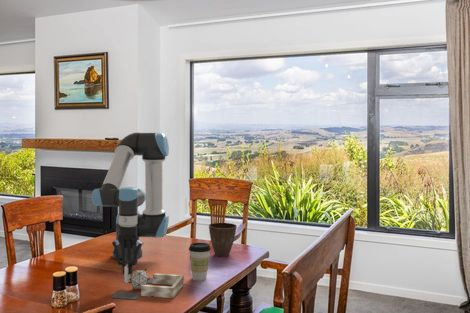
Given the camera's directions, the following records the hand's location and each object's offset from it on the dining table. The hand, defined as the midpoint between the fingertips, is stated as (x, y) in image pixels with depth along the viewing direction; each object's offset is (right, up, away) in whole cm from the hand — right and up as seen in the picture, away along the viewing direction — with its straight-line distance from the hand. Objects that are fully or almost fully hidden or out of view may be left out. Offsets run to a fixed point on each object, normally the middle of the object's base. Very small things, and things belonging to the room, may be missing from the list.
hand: (127, 281), depth 173 cm
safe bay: (+15, -3, -2) cm, 15 cm away
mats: (+3, -3, 0) cm, 4 cm away
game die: (+5, -3, -1) cm, 6 cm away
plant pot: (+38, -1, +52) cm, 64 cm away
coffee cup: (+29, -3, +14) cm, 32 cm away
